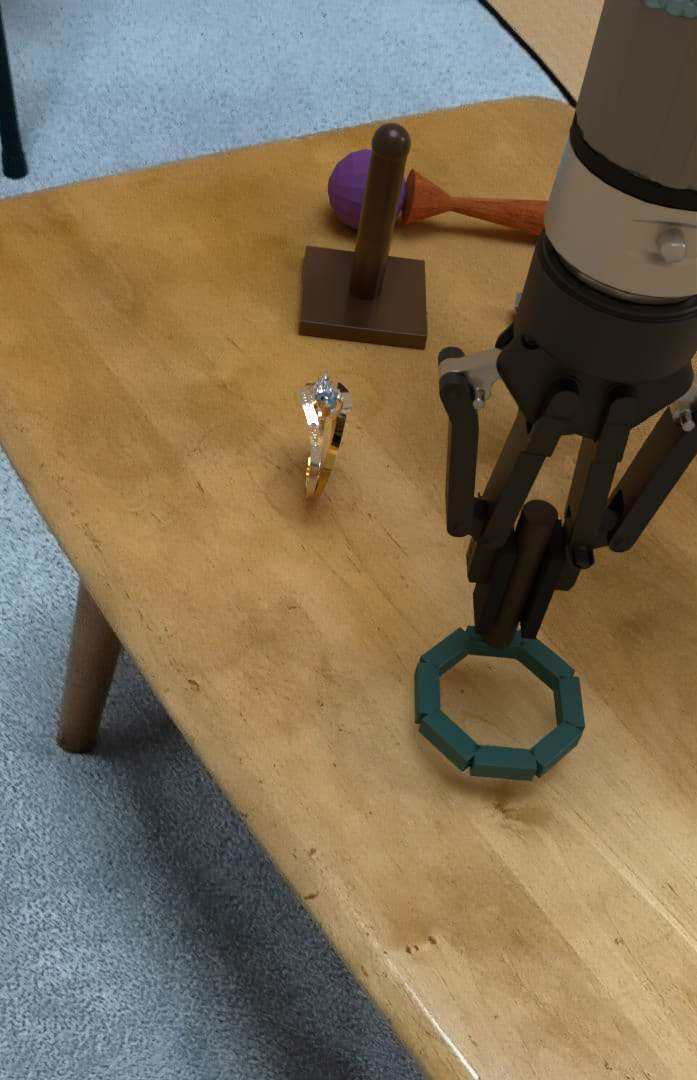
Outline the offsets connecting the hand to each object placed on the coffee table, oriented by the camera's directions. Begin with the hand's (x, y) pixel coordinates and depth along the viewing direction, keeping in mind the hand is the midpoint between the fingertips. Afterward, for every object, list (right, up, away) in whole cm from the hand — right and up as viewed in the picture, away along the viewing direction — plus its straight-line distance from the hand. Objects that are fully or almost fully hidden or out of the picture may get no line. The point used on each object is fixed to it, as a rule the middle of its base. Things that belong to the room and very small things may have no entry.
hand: (503, 615), depth 66 cm
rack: (-7, +21, +24) cm, 33 cm away
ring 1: (-11, +7, +12) cm, 17 cm away
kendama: (0, +28, +32) cm, 43 cm away
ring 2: (0, -5, 0) cm, 5 cm away
